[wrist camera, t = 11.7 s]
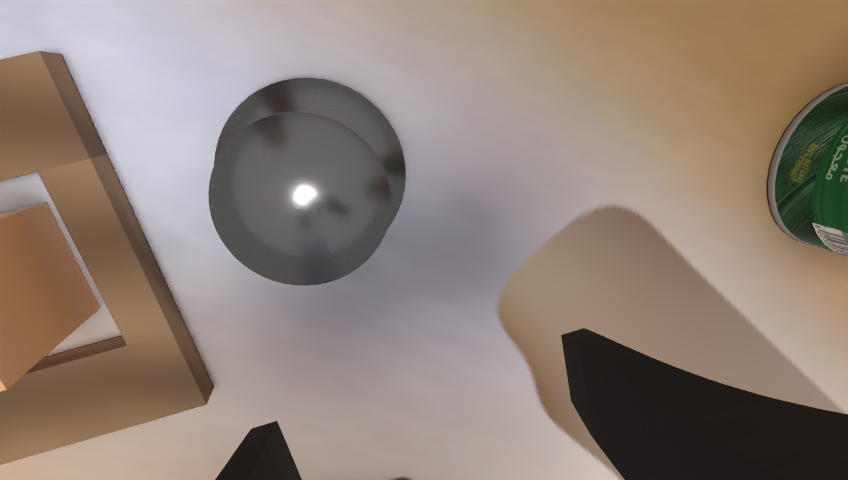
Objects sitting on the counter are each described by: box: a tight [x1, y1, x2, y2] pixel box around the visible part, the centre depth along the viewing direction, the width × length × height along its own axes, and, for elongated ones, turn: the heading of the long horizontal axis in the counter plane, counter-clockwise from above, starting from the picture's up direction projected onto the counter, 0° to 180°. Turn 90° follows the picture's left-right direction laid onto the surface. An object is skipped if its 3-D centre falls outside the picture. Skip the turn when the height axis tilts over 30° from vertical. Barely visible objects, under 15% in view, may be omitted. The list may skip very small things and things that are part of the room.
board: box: [0, 51, 214, 465], centre depth 17 cm, size 14×9×1 cm, turn 13°
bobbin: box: [209, 78, 406, 285], centre depth 16 cm, size 7×7×6 cm
